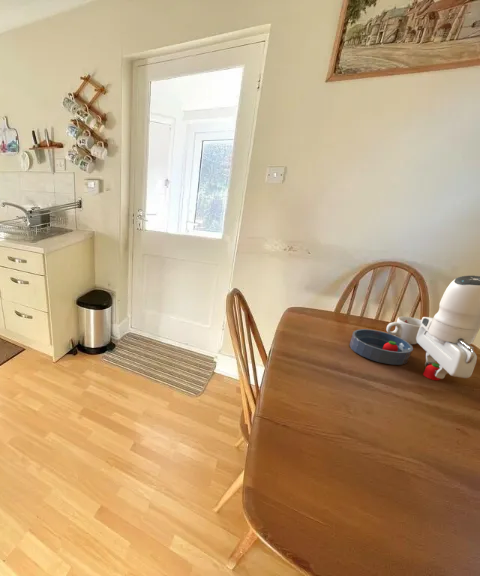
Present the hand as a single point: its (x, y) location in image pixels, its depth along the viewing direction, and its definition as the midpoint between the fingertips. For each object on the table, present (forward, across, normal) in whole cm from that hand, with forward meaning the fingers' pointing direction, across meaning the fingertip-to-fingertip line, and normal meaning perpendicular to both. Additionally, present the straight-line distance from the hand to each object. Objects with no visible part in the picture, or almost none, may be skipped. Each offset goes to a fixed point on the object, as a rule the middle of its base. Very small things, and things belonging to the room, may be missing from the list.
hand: (433, 371), depth 93 cm
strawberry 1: (+1, +10, +7) cm, 12 cm away
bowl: (+2, +10, +10) cm, 14 cm away
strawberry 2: (+2, 0, 0) cm, 2 cm away
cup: (+2, +23, -1) cm, 23 cm away
